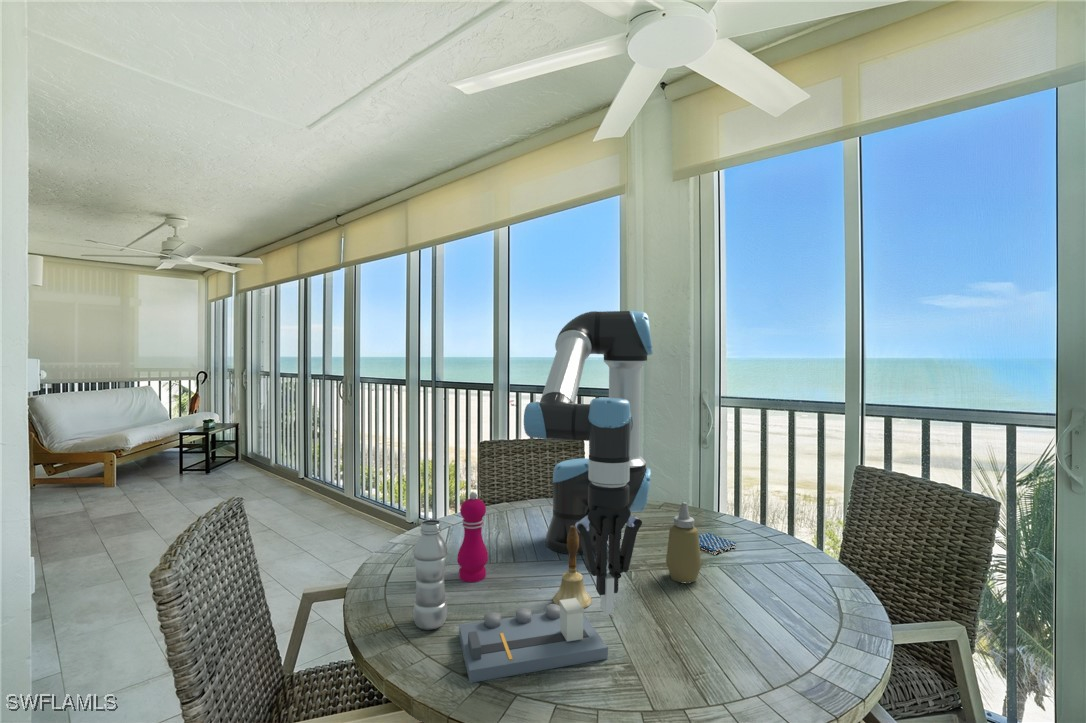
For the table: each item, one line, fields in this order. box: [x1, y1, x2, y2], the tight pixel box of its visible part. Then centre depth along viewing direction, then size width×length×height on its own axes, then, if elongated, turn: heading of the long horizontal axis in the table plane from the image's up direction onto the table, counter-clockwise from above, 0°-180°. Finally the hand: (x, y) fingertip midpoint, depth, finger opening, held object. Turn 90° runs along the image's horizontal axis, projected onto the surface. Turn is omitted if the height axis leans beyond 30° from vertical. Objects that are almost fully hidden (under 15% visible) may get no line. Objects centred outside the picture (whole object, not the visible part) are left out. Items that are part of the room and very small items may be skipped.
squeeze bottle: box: [665, 501, 702, 584], centre depth 118 cm, size 8×8×18 cm
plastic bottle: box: [412, 519, 448, 631], centre depth 96 cm, size 6×7×20 cm
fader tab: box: [559, 598, 585, 642], centre depth 89 cm, size 3×4×5 cm
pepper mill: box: [456, 491, 489, 583], centre depth 117 cm, size 7×7×20 cm
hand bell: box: [552, 525, 593, 609], centre depth 106 cm, size 8×8×16 cm
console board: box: [458, 603, 609, 684], centre depth 89 cm, size 24×14×4 cm, turn 106°
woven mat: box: [699, 532, 738, 555], centre depth 138 cm, size 10×11×2 cm
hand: (606, 610), depth 91 cm, fingers closed
